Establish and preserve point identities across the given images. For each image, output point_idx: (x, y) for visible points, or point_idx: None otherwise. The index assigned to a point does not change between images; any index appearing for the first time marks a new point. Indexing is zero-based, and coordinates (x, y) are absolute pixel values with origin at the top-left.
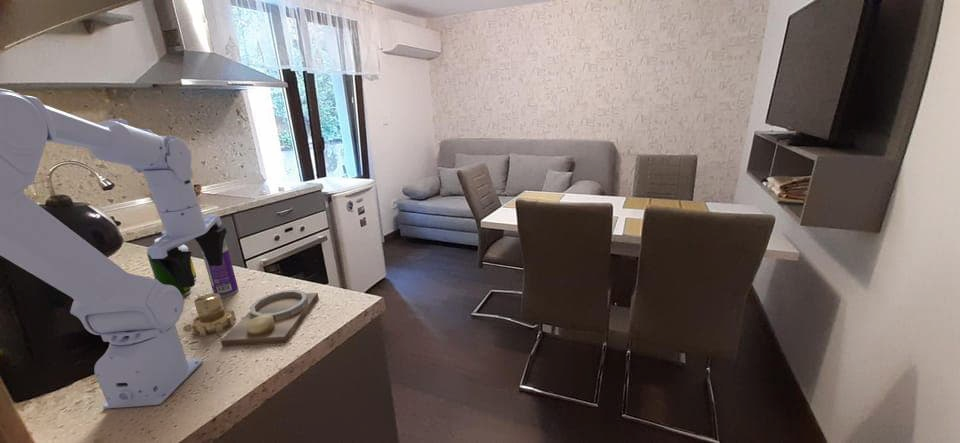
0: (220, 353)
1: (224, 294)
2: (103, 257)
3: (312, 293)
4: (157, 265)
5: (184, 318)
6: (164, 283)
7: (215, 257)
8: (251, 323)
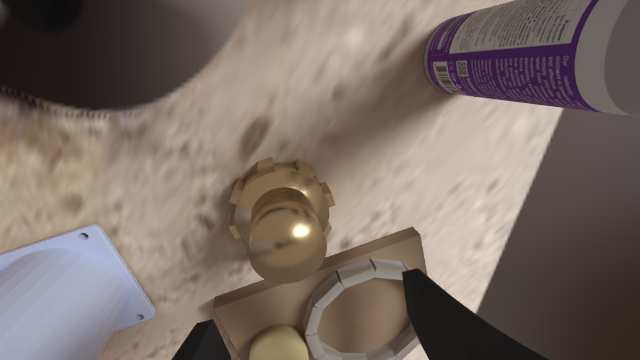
0: (194, 314)
1: (432, 80)
2: None
3: None
4: None
5: (293, 69)
6: None
7: (428, 342)
8: (267, 355)
